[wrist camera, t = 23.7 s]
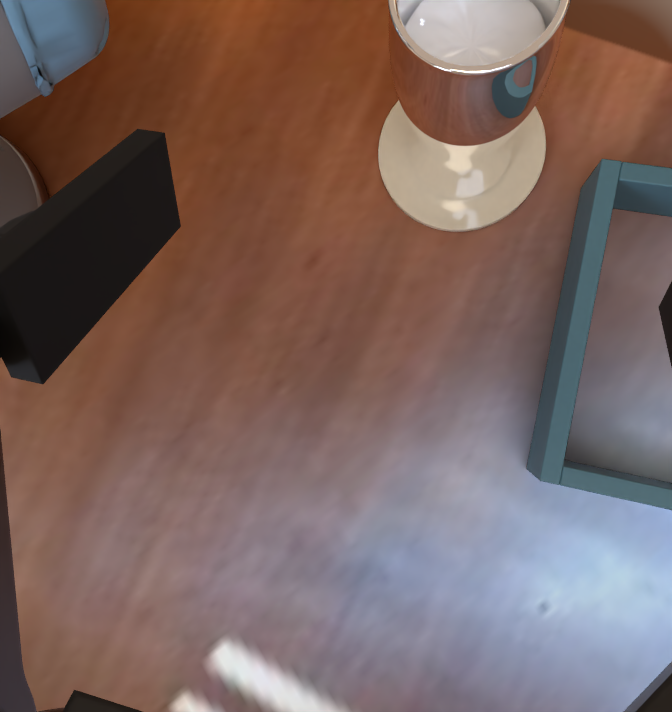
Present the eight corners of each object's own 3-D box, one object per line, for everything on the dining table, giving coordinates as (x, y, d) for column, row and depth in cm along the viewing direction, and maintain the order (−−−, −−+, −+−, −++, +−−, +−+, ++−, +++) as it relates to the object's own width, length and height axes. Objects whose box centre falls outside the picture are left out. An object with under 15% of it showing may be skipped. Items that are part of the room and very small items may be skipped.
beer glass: (522, 92, 36) (583, -117, 21) (518, 207, 35) (577, 76, 21) (405, 95, 37) (386, -101, 22) (400, 206, 37) (377, 82, 22)
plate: (365, 96, 38) (364, 92, 37) (525, 53, 36) (526, 49, 36) (395, 248, 37) (395, 246, 37) (560, 210, 36) (562, 208, 35)
